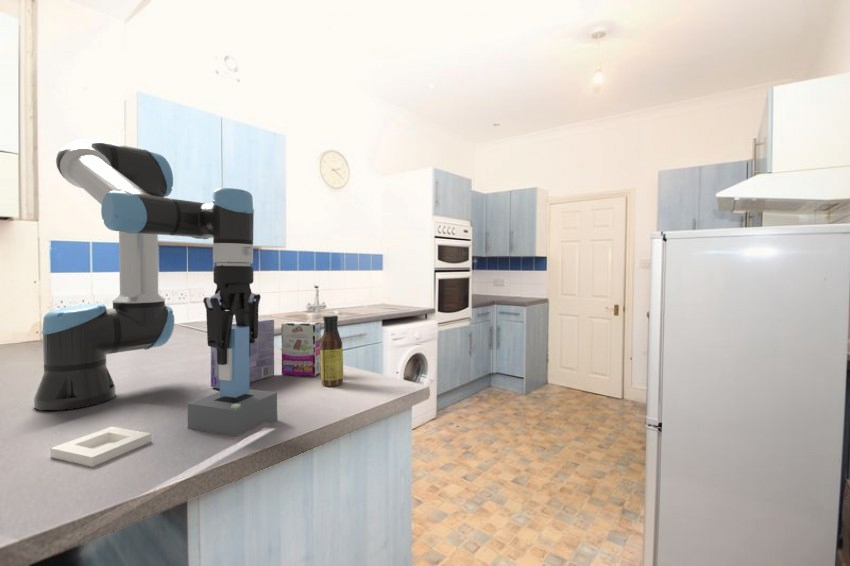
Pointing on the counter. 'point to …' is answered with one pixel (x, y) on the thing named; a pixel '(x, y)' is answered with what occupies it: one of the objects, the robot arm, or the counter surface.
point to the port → (232, 412)
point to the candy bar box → (301, 348)
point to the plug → (238, 364)
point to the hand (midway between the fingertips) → (234, 376)
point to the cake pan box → (253, 355)
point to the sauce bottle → (331, 353)
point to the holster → (100, 446)
